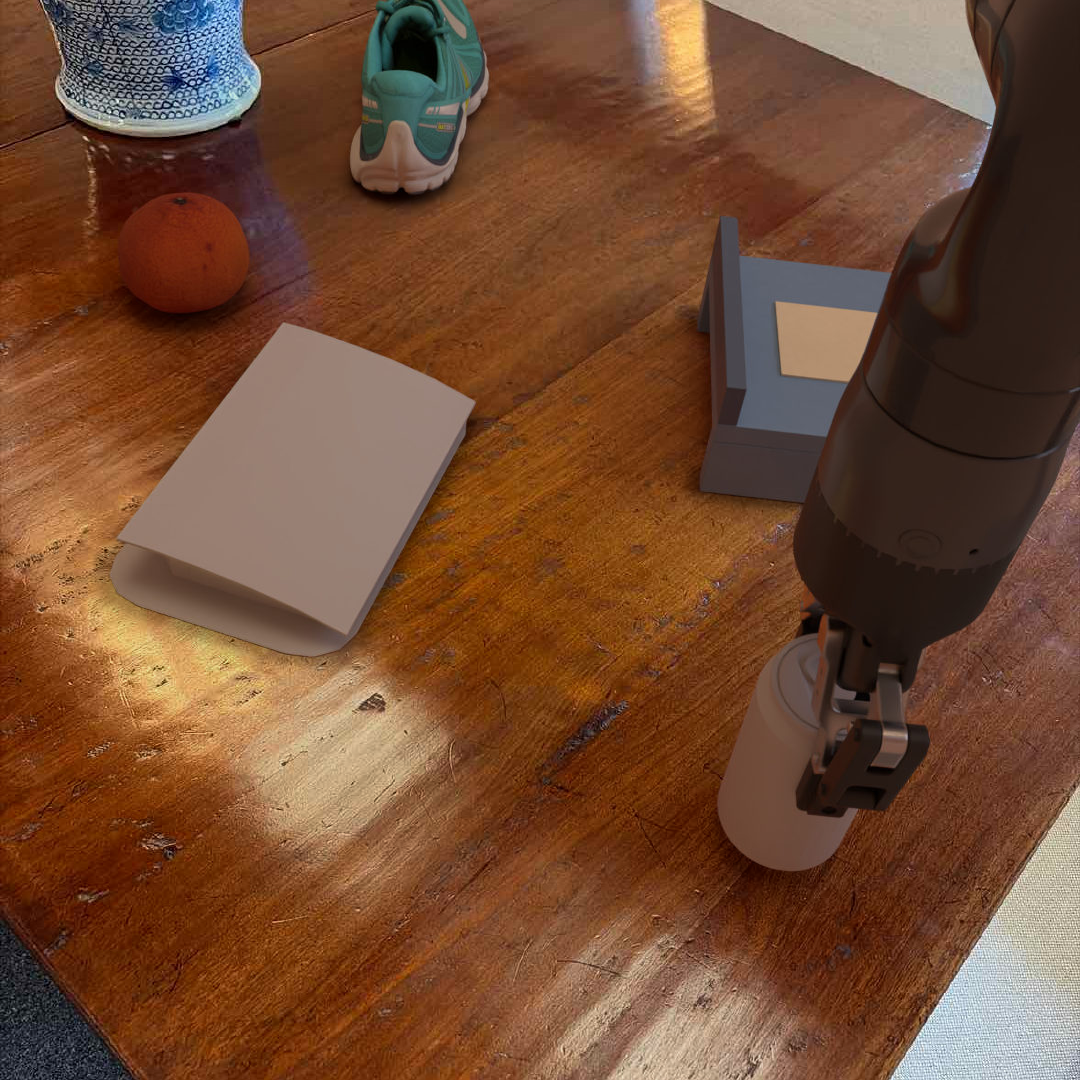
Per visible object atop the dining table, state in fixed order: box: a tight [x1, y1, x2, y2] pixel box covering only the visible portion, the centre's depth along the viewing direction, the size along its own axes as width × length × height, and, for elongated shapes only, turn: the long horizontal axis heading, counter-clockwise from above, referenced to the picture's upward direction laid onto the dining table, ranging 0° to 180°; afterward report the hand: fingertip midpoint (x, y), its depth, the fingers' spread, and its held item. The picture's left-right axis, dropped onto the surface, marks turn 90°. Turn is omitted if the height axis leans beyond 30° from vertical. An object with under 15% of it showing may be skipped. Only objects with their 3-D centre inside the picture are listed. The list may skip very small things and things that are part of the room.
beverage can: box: [717, 633, 870, 872], centre depth 56 cm, size 6×6×12 cm
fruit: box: [117, 191, 250, 314], centre depth 83 cm, size 9×9×8 cm
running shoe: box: [349, 0, 490, 196], centre depth 101 cm, size 11×29×11 cm, turn 1°
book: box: [108, 321, 477, 658], centre depth 73 cm, size 15×23×4 cm, turn 162°
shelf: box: [696, 215, 892, 504], centre depth 80 cm, size 14×18×9 cm
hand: (812, 736), depth 54 cm, fingers closed on beverage can, 6 cm apart
